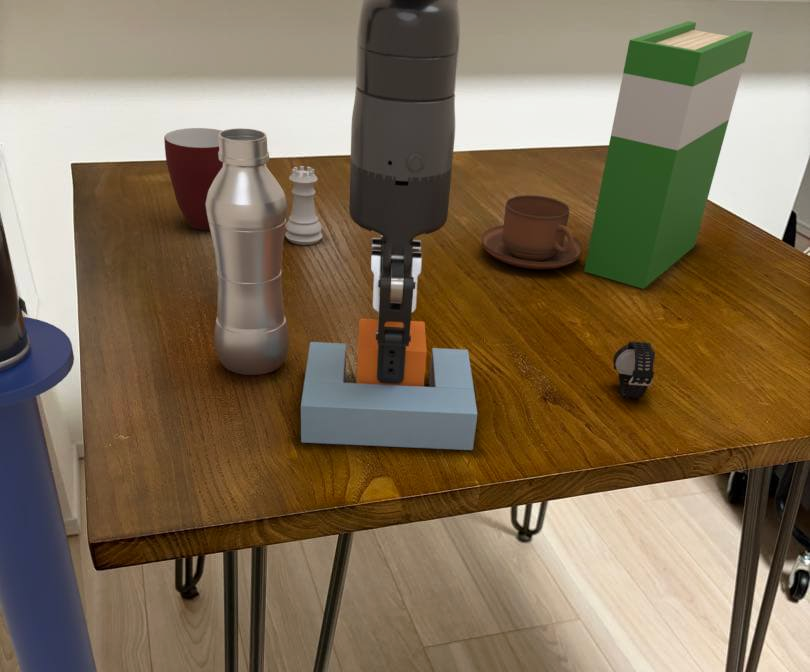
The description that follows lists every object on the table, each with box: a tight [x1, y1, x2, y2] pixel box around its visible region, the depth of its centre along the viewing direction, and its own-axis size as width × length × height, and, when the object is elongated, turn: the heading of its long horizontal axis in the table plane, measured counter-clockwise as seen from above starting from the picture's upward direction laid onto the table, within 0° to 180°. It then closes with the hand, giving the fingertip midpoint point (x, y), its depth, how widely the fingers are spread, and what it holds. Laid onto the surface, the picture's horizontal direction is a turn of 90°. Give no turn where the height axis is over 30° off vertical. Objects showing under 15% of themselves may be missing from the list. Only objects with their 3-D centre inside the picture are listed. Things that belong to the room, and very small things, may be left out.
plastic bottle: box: [205, 127, 290, 376], centre depth 76 cm, size 6×7×20 cm
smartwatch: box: [612, 341, 656, 399], centre depth 81 cm, size 4×5×5 cm
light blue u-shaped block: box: [300, 341, 478, 451], centre depth 76 cm, size 14×11×4 cm
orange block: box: [356, 317, 428, 387], centre depth 76 cm, size 6×6×4 cm
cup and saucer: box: [481, 194, 584, 270], centre depth 105 cm, size 12×12×6 cm
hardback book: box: [583, 21, 754, 290], centre depth 102 cm, size 18×7×24 cm, turn 147°
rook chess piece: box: [284, 165, 323, 246], centre depth 104 cm, size 4×4×8 cm
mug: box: [163, 127, 223, 231], centre depth 106 cm, size 11×8×10 cm
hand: (390, 362), depth 76 cm, fingers closed on orange block, 5 cm apart
